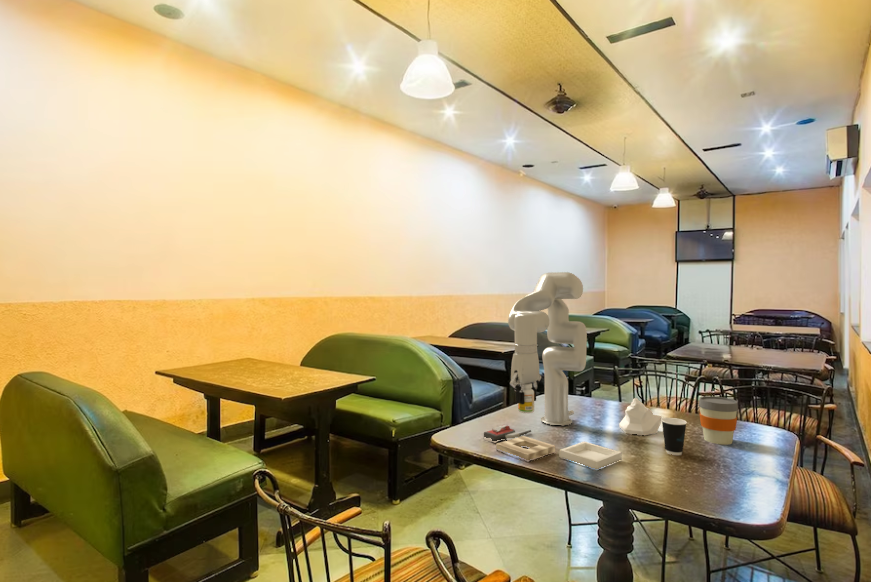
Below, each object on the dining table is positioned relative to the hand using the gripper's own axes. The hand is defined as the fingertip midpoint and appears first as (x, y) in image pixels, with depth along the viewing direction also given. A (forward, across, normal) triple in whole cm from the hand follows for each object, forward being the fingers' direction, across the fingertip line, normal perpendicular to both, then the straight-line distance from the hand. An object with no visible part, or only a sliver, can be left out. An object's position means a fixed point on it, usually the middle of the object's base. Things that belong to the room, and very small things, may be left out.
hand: (526, 401), depth 164 cm
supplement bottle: (+4, 0, 0) cm, 4 cm away
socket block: (+17, +1, 0) cm, 17 cm away
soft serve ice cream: (+19, -52, +12) cm, 57 cm away
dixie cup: (+18, -38, +32) cm, 53 cm away
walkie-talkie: (+18, -6, -15) cm, 24 cm away
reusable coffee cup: (+19, -64, +36) cm, 76 cm away
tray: (+17, -10, +18) cm, 27 cm away
